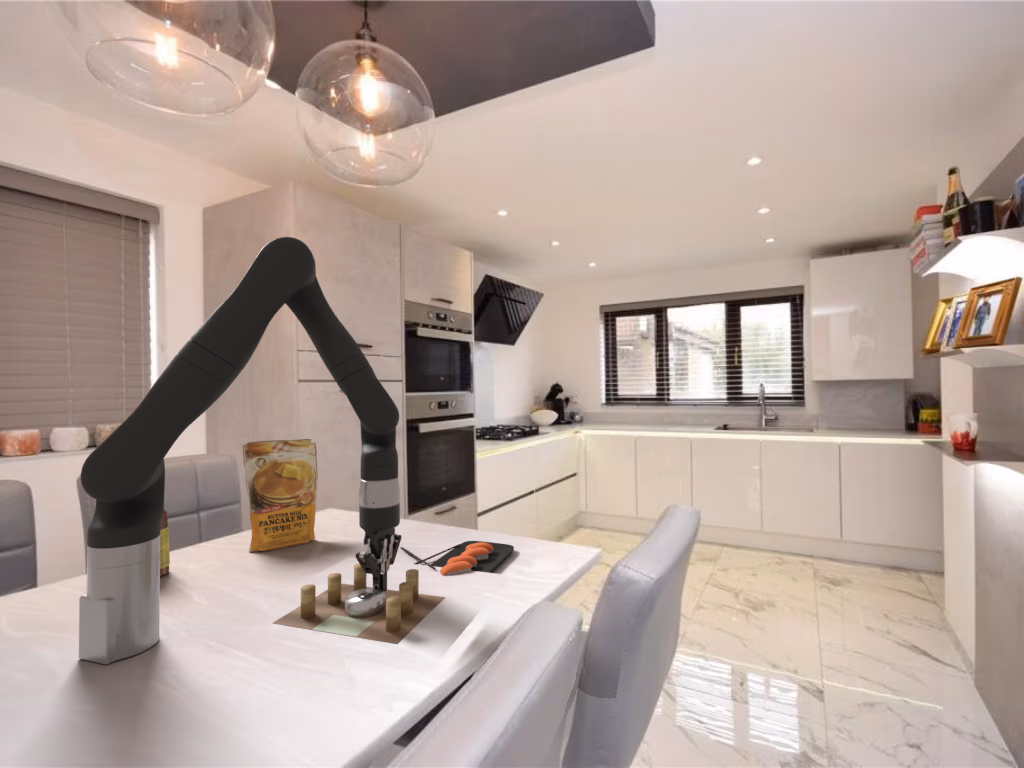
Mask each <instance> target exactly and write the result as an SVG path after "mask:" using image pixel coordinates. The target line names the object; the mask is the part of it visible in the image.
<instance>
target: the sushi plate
mask: <svg viewBox="0 0 1024 768" xmlns="http://www.w3.org/2000/svg"><path fill="white" fill-rule="evenodd" d="M399 547H400V546H399ZM400 549H401V550H402V551H403V552H404V553H405V554H407V555H409V556H411V557H412V558H414V559H416V560H418V561H417V562H414V563H413V565H419V564H422V563H423V564H425V565H427V566H428V567H431V568H432V569H433V570H436V567H437V568H440V569H439V573H440V574H441V575H442V576H450V575H455V574H460V573H468V572H481V573H489V574H491V573H492V572H493V571H494V570H495V569H496V568H497V567H498V566H499V565H500V564H501V563H502V562H503V561H504V560H506V558H508V557H509V556H510V555H511V554H512V553H513V551H514V550H515V546H514V545H511V544H507V543H499V542H490V541H480V540H466V541H463V542H462V543H458V544H456V545H454V546H452V547H451V546H450V547H449V548H447V549H445V550H441V552H438V553H436V554H434V555H433V554H432V555H431V556H429V557H426V558H424V559H422V558H420V557H418V556H417V555H416V554H414V553H413V552H411V551H410V550H408V549H406V547H405V548H404V547H403V546H401V547H400ZM444 553H445V554H444ZM441 554H444V555H441ZM439 555H441V556H440V557H439V558H438V559H436V560H435V561H433V562H432V563H428V562H426V561H428V560H431V559H432V558H435V557H437V556H439Z"/></svg>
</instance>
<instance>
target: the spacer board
mask: <svg viewBox="0 0 1024 768" xmlns="http://www.w3.org/2000/svg"><path fill="white" fill-rule="evenodd" d="M419 571H420V570H419V569H415V568H413V569H412V568H411V569H407V570H406V571H405V581H403V582H401V583H399V586H398V590H393V589H387V590H386V591H385V609H384V611H383V612H381V613H380V614H378V615H375V616H372V617H368V618H351V617H349V616H347V615H346V614H345V597H346V596H347V595H348V594H349V593H351V592H353V591H356V590H360V589H366V588H373V586H372V587H371V586H367V573H365V571H364V570H363V568H362V567H361V565H360V563H359V562H358V563H356V564H353V584H349V583H348V584H347V583H342V573H339V572H334V573H329V574H328V575H327V589H326V590H324V591H323V592H320V594H318V595H316V587H317V585H315V584H310V583H309V584H305V585H302V586H301V587H300V606H298V607H296V608H294V609H293V610H292V611H289V612H288V613H287V614H285V615H283V616H281V617H280V618H278V619H277V620H275V621H273V622H272V624H275V625H281V626H288V627H294V628H299V629H304V630H311V631H316V632H322V633H329V634H335V635H340V636H346V637H352V638H358V639H363V640H364V639H365V640H371V641H376V642H381V643H388V644H394V645H398V644H399V643H401V641H402V640H403V639H404V638H405V637H406V636H408V634H410V632H412V630H413V629H414V628H416V627H417V626H418V625H419V623H421V622H422V621H423V620H424V619H425V618H426V617H427V616H428V615H429V614H430V613H431V612H432V611H434V609H435V608H436V607H437V606H438V605H440V604H441V602H442V601H443V600H444V599H445V598H446V597H445V596H441V595H440V596H438V595H432V594H425V593H419V584H420V583H419V582H420V581H419V578H420V577H419Z"/></svg>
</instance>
